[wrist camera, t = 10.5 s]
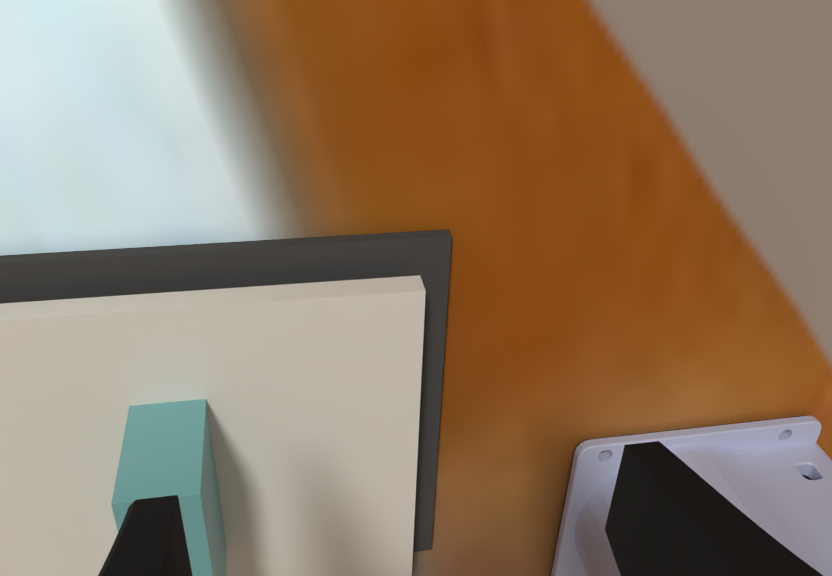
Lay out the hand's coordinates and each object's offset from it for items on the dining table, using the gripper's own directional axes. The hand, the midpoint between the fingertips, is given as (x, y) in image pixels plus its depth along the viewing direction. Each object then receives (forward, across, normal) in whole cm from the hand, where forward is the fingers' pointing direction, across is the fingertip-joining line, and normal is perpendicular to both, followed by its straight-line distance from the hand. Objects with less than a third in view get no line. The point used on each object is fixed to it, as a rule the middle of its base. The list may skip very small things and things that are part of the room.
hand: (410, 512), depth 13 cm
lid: (+9, +5, +7) cm, 13 cm away
